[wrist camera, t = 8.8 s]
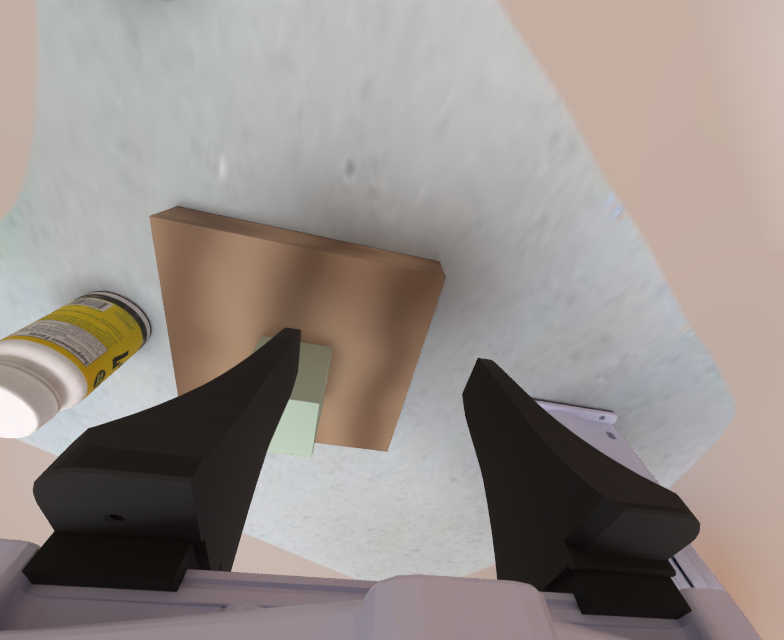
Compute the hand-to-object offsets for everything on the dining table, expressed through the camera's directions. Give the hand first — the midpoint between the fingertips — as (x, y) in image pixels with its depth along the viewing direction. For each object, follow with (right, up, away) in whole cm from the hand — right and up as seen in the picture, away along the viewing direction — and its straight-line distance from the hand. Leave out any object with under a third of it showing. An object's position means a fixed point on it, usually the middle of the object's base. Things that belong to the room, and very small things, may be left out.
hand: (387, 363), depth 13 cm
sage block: (-6, -2, +9) cm, 11 cm away
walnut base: (-6, 0, +11) cm, 12 cm away
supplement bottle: (-19, +2, +10) cm, 22 cm away
